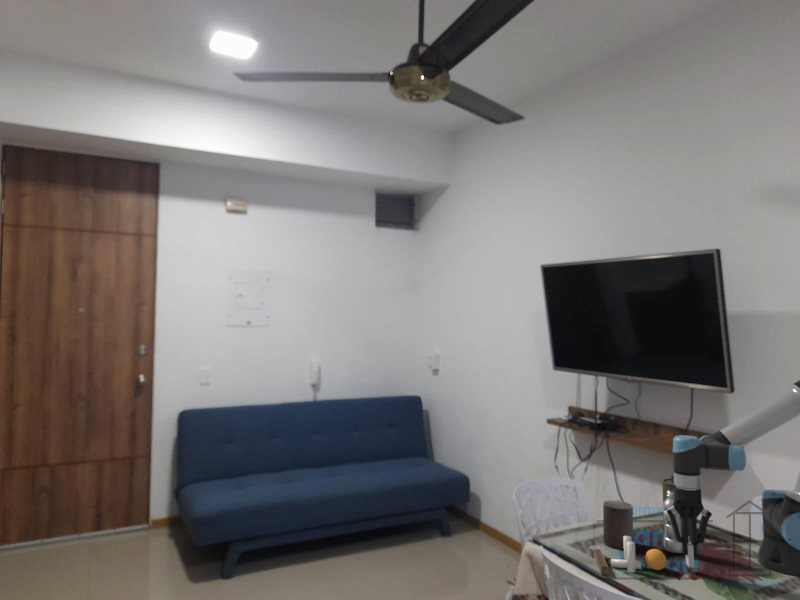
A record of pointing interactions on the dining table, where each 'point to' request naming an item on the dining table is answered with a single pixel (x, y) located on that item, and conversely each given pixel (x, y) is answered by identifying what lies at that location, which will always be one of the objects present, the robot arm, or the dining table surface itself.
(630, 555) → the pin
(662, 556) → the ball
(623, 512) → the pillar candle
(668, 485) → the canister
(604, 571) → the brown wooden stick
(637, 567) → the front pin
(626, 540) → the pin
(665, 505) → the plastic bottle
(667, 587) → the dining table surface
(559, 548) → the dining table surface
